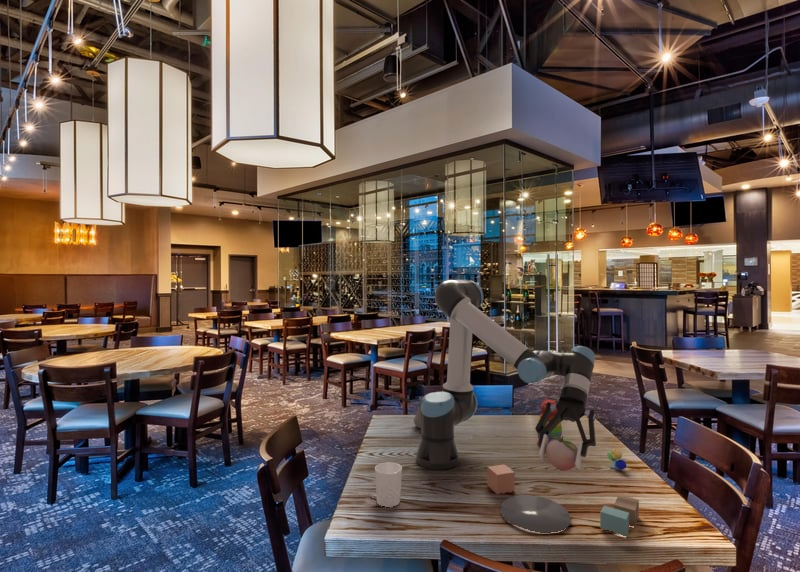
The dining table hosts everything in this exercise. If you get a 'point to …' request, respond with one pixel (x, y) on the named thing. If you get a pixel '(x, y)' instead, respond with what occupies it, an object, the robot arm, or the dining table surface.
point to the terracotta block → (500, 479)
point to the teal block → (614, 520)
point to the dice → (614, 456)
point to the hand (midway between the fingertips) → (558, 461)
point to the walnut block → (628, 507)
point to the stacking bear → (558, 429)
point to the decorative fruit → (561, 453)
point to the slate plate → (535, 513)
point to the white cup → (388, 483)
